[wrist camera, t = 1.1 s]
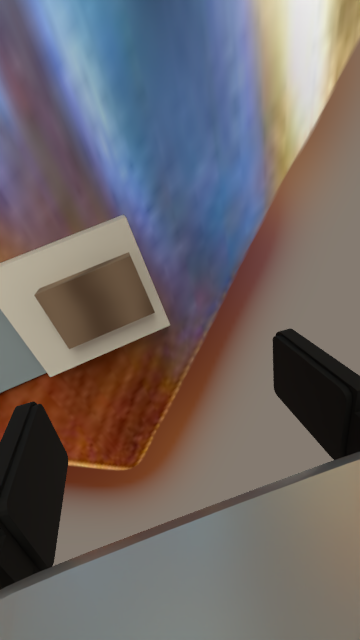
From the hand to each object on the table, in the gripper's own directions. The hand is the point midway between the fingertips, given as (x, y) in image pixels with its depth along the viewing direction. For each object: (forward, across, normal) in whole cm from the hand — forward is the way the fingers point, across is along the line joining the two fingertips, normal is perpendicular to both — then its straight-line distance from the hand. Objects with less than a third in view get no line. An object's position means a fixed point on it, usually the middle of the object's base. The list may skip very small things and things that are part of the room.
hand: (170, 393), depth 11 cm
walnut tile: (+18, +4, +1) cm, 19 cm away
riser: (+22, +5, +2) cm, 23 cm away
